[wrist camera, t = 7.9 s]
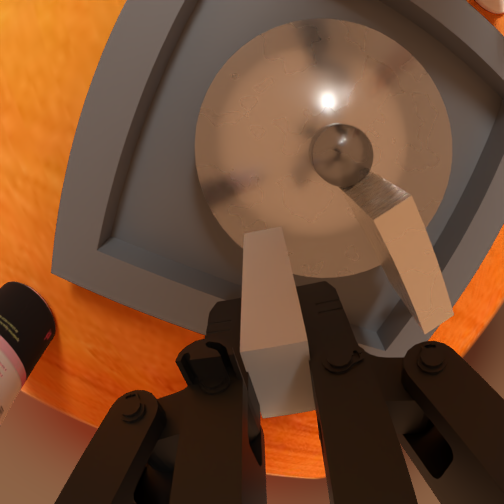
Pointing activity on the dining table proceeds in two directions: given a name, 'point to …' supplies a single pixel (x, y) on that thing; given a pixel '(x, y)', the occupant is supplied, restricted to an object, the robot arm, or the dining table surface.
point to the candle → (492, 5)
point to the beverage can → (21, 338)
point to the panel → (186, 177)
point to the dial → (331, 155)
